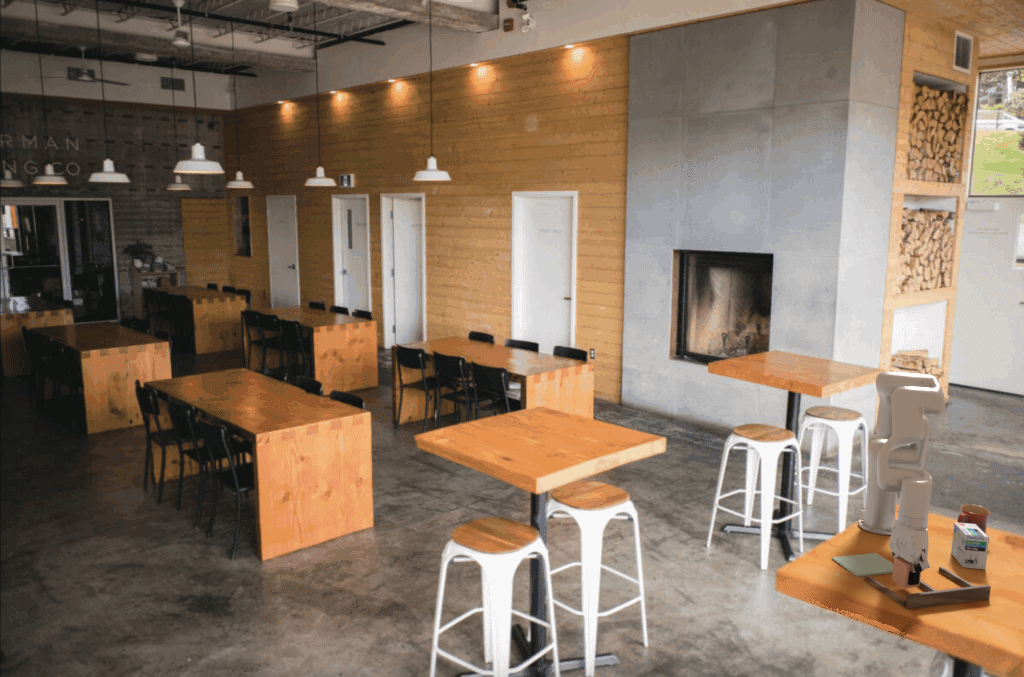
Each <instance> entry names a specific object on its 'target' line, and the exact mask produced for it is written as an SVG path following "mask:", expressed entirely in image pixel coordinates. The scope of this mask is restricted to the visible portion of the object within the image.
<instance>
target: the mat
mask: <svg viewBox="0 0 1024 677" xmlns="http://www.w3.org/2000/svg"><path fill="white" fill-rule="evenodd" d="M832 559H833V560H832ZM831 560H832V561H833V562H835V561H836V562H835V563H837V564H838V563H839V564H840V565H839V564H838V565H839V566H841V567H842V566H843V568H844V569H845V568H846V569H845V570H847V571H848V572H850V573H851V574H853V575H854V576H855V577H857V578H859V577H860V578H861V577H865V575H869V576H876V575H889V574H893V566H894V562H892V561H890V560H888V559H886V558H885V557H884V556H881V555H880V554H879V553H877V552H871V553H870V552H869V553H862V554H853V555H852V554H851V555H842V556H833V557H831Z"/></svg>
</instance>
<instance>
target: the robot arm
mask: <svg viewBox="0 0 1024 677" xmlns="http://www.w3.org/2000/svg"><path fill="white" fill-rule="evenodd" d="M875 386H876V390H877V394H878V398H879V404H878V411H877V416H876V422H875V424H876V425H875V426H876V427H875V430H876V434H877V436H878V437H879V438H877V439H873V440H871V441H870V442H869V444H868V445H867V460H868V461H867V464H868V466H867V467H868V468H867V470H868V471H867V484H866V495H865V506H864V507H862V509H859V510H858V513H859V514H860V515H862V516H861V517H862V518H860V519H859V520H858V526H859V527H860V529H862V530H864V531H867V532H870V533H872V534H876V535H877V534H878V535H882V536H890V540H889V543H888V547H889V550H890V552H891V554H892V556H893V561H894V557H901V558H903V559H904V560H906V561H908V562H909V563H910V564H911V571H909V580H908V584H909V585H917V584H919V578H920V579H921V577H920V572H921V573H923V571H925V570H927V569H930V568H931V567H930V563H929V561H928V555H929V531H928V522H929V521H928V520H929V514H930V513H929V512H930V511H929V510H930V503H931V496H932V495H931V493H932V489H933V477H932V476H931V474H930V473H929V472H928V471H926V470H925V469H922V468H923V467H924V465H925V462H926V457H927V451H928V445H929V440H930V439H929V438H930V434H931V433H930V432H931V426H930V420H929V418H928V417H927V416H933V417H939V416H942V415H943V413H944V412H945V409H946V397H945V394H944V390H943V389H942V386H941V384H940V382H939V381H938V378H936V376H934V375H931V374H926V373H912V372H911V373H910V372H902V371H900V372H899V371H881V372H879V373H877V375H876V377H875ZM898 494H899V502H898V500H897V499H898ZM897 502H898V503H899V504H898V510H897ZM896 511H897V512H896ZM896 513H897V518H896ZM862 520H864V521H862ZM859 522H860V523H859ZM916 563H917V567H915V564H916Z"/></svg>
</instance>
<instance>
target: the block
mask: <svg viewBox="0 0 1024 677" xmlns="http://www.w3.org/2000/svg"><path fill="white" fill-rule="evenodd" d="M893 558H894V560H893V564H894V566H893V573H892V575H891V576H892V577H891V580H892V581H893V582H894V583H896V584H897V585H899V586H901V587H902V588H903V589H909V588H911V589H912V588H918V587H919V586H920V580H921V577H922V576H921V574H922V572H920V578H919V584H917V585H909V584H908V580H909V571H911V564H910V563H909V562H908V561H906V560H904V559H903V558H901V557H894V556H893ZM915 567H917V563H916V564H915ZM919 588H920V587H919Z"/></svg>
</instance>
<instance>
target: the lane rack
mask: <svg viewBox="0 0 1024 677" xmlns="http://www.w3.org/2000/svg"><path fill="white" fill-rule="evenodd" d="M938 572H939V573H940V574H942V575H944V576H946V577H947V578H949V579H951V580H953V581H954V582H955V583H958V584H959V585H961V586H963V587H958V588H957V587H956V588H950V589H949V588H948V589H940V590H937V589H936V588H934V587H933V586H931V585H929V584H928V583H926V582H924V581H923V580H922V579H920V586H919V588H921V589H922V590H924V592H922V591H921V592H914V593H906V598H903V597H902V596H900V595H899V594H897V593H896V592H894V591H893V590H891V589H890V588H888V587H887V586H885V585H884V584H883V583H882V582H880V581H878V580H877V579H875V578H874V577H873V576H872V575H870V576H869V575H865V576H864V580H865V581H866V582H867V583H869V584H870V585H872V586H873V587H874V588H876V589H878V590H879V591H881V593H883V594H885V595H886V596H887V597H889V598H890V599H892V600H893V601H894V602H895V603H897V604H899V605H900V606H902V607H904V609H906V610H907V611H908V610H909V611H910V610H914V609H915V610H917V609H923V608H924V609H925V608H931V607H932V608H933V607H939V606H947V605H949V606H950V605H955V604H965V603H971V602H972V603H973V602H981V601H987V600H988V601H989V600H990V598H991V597H990V595H991V588H992V586H991V585H990V584H983V585H975V584H973V583H971V582H969V581H967V580H965V579H964V578H962V577H961V576H959V575H957V574H956V573H954V572H953V571H951V570H948V569H947V568H945V567H944V566H939V567H938Z"/></svg>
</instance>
